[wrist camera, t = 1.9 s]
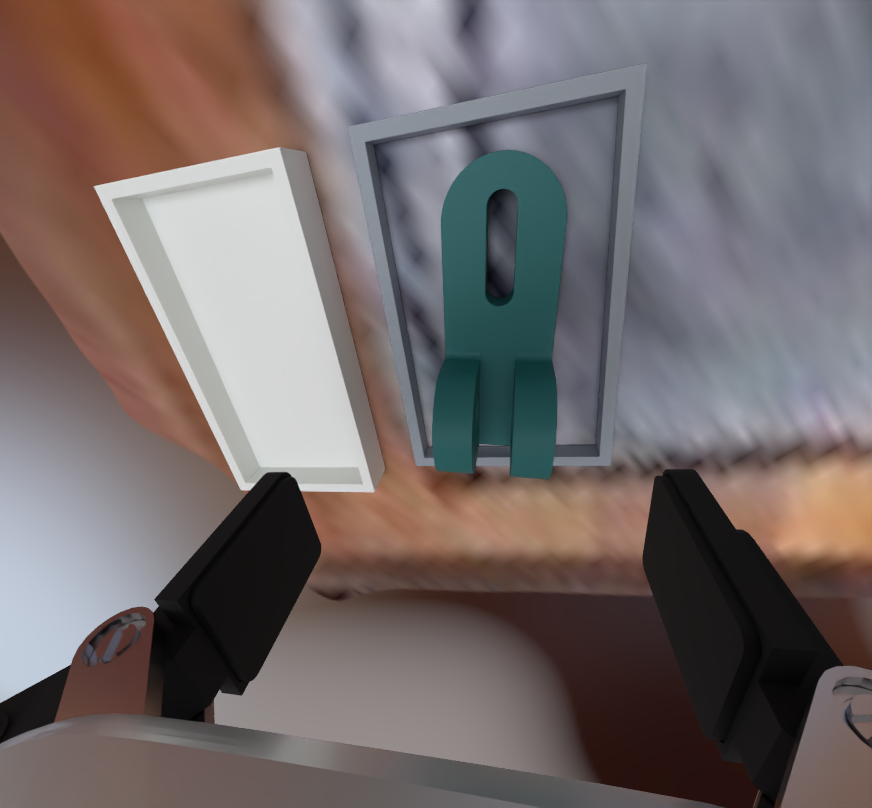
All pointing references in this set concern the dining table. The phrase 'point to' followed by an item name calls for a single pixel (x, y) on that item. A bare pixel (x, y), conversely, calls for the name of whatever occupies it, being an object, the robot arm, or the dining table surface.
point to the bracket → (500, 320)
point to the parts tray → (254, 314)
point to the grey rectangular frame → (628, 133)
